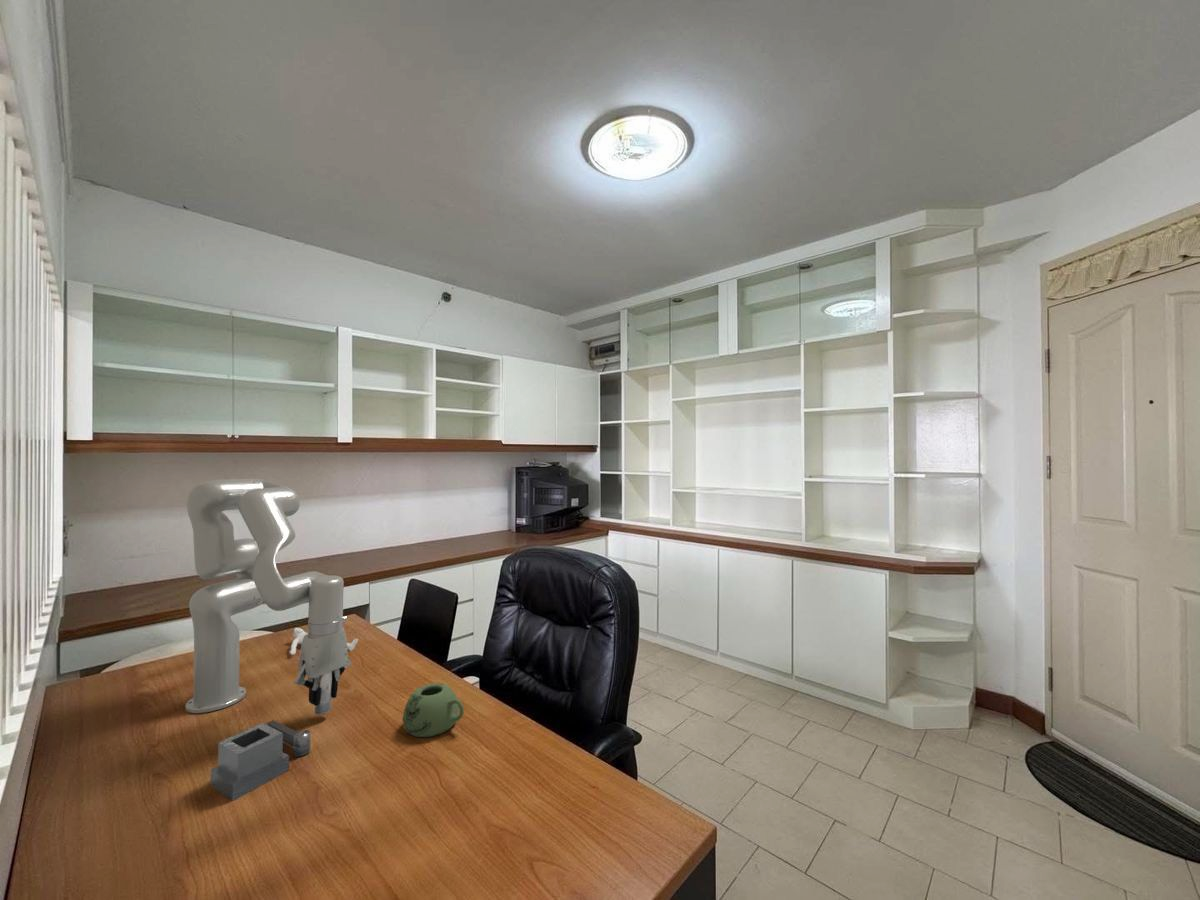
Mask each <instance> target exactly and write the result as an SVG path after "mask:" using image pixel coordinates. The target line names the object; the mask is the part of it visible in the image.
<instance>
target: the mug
mask: <svg viewBox="0 0 1200 900" xmlns="http://www.w3.org/2000/svg"><path fill="white" fill-rule="evenodd" d="M464 711H465V710H464V704H463V702H462V700H460V699H459V698H457V695H456V694H455V691H454V690H453V689H452V688H451V687H450V686H449V685H447V684H445V683H439V682H438V683H437V682H436V683H429V684H426V685H422V686H421V687H418V688H417V689H415V690H414V691H413V692H412V693H411V694H410V696H409V698H408V700H407V702H406V705H405V707H404V710H403V715H402V724H403V727H404V731H405V732H406V733H408V734H410V735H411V736H413V737H415V738H417V737H419V738H431V737H435V736H437V735H440V734H443V733H445V732H446V731H449V729H451V728H452V727H453V726H454V724H455V723H456V722H458V721H460V720H461V719H462V718H463V716H464V713H465V712H464Z"/></svg>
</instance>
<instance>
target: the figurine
mask: <svg viewBox="0 0 1200 900" xmlns="http://www.w3.org/2000/svg"><path fill="white" fill-rule="evenodd" d="M307 634H308V632H306V631H304V629H302V628H300V627H295V628H294V629H293V634H292V637H294V640H293V641H291V642H292V643H291V645H290V650H289V653H290V655H291V656H292V655H295V654H296V653H297V646H298V645H299V644H300V645H302V641H303V638H304V636H305V635H307ZM358 641H359V638H354V639H353V641H352V642H347V651H352V650H355V648H356V647H355V646H356V645H357V643H358Z"/></svg>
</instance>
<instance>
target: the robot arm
mask: <svg viewBox="0 0 1200 900" xmlns="http://www.w3.org/2000/svg"><path fill="white" fill-rule="evenodd" d="M300 505H301V501H300V497H299V495H298V494H297V492H296V491H295V490H294V489H292V488H290V487H288V486H286V485H282V484H280V483H277V482H273V481H270V480H266V479H263V478H255V477H253V478H252V477H251V478H249V477H248V478H227V479H226V478H225V479H223V478H222V479H212V480H207V481H203V482H201V483H198V484H196V485H195V486H193V487H192V488H191V490H190V492H188V496H187V498H186V511H187V515H188V518H189V521H190V523H191V527H192V528H191V529H192V533H193V538H192V539H193V552H194V553H193V554H194V555H193V556H194V568H195V572H196V574H197V576H198V577H199V578H200V579H203V580H215V579H219V578H224V577H228V576H232V575H236V578H234V579H233V578H232V579H231V580H230V579H229V580H228V579H227V580H224V581H221V582H217V583H212V584H209V585H206V586H204V587H201V588H200V589H198V590H197V591H195V592H194V593H193V594H192V596H191V597H190V599H189V603H188V605H189V606H188V607H189V613H190V616H191V621H192V629H193V697H191V698H190V699H189V700H188V701H187V702H186V703H185V711H186V712H187V713H191V714H204V713H209V712H214V711H219V710H222V709H225V708H227V707H230V706H232V705H234V704H236V703H239V702H240V701H241V700H243V698H244V697H245V696H246V694H247V689H246V688H245V687H243V686H240V629H239V627H238V625H237V624H236V623H235V622H234V620H232V618H231V617H232V616H235V615H236V614H237V615H238V614H240V613H243V612H247V611H249V610H252V609H255V608H257V607H259V606H261V605H262V603H264V604H265V605H266V606H267V607H268V608H269V609H271V610H273V611H277V612H282V611H286V610H290V609H291V608H295V607H298V606H301V605H304V604H308V611H307V612H308V617H307V619H308V620H307V621H308V622H307V623H308V624H307V633H308V634H307V635H305V636H304V638H303V641H302V644H300V651H299V652H300V653H299V658H298V670H297V671H298V673H297V676H296V677H295V679H294V680H293V681H294V684H296V685H299V686H304V687H305V688H308V702H309V703H310V704H311V705H313V706H314V707H315V706H318V705H319V704H320V689H319V688H318V683H319V678H320V676H321V675H324V674H326V673H329V672H332V699H335V698H337V697H338V696H337V694H338V686H339V684H338V683H339V681H340V680H341V676H342V674H343V673H344V672H345V670H346V669H347V668H348V667H349V666H350V665H351V664H352V661H351V659H350V657H349V655H348V649H347V643H348V641H347V635H346V630H345V627H344V623H345V622H347V621H348V618H347V616H346V615H344V583H345V581H344V578H342V577H341V576H340V575H327V574H324V573H322V572H319V571H316V570H315V571H307V572H303V573H300V574H295V575H291V576H287V577H285V578H283V577H282V575H281V573H280V572H279V569H278V567H277V563H276V558H277V554H278V553H279V552H280V551H281V550H283V549H285V548H286V547H288V546H289V545H290V544H291V543H292V542H293V541H294V540H295V538H296V531H295V530H294V528H293V527H292V524H291V522H290V521H289V519H288V517H292V516H293V515H295V514H296V513H298V511H299V508H300ZM235 510H238V511H239V514H240V515H241V518H242V519H243V521H244V523H245V525H246V527H247V528H248V531H249V532H250V534H251V537H252V538H239V539H235V536H234V535H235V533H234V529H235V528H234V525H233V522H232V520H231V519H230V518H229V517H228V516H227V515H226V514H225V513H224V512H225V511H235ZM343 615H344V616H343ZM305 678H306V679H305Z"/></svg>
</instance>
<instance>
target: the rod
mask: <svg viewBox="0 0 1200 900" xmlns="http://www.w3.org/2000/svg"><path fill="white" fill-rule="evenodd" d="M318 688H319V689H320V704H319V705H318V706H315V705H314V714H315V715H319V716H321V715H325V714H327V713H329V712H331V710H332V700H333V698H332V672H329V673H326V674H324V675H321V676H320V678H319V683H318Z"/></svg>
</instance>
